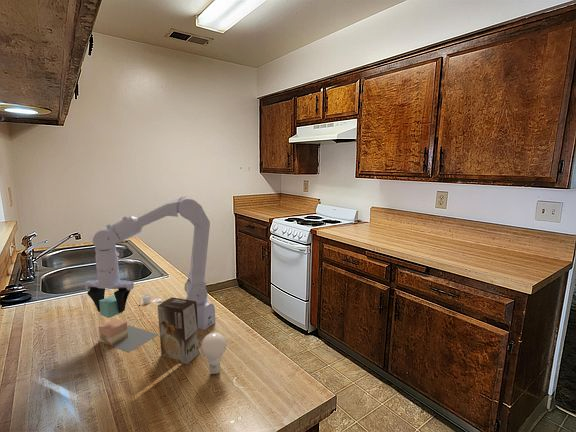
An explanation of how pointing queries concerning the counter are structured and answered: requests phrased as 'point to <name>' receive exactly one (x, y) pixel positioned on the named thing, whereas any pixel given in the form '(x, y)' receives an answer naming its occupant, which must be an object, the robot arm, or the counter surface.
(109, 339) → the maple slab
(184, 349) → the coffee box
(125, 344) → the slate board
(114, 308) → the teal block
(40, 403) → the counter surface
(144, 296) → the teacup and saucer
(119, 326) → the terracotta slab
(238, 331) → the counter surface
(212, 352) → the lightbulb
